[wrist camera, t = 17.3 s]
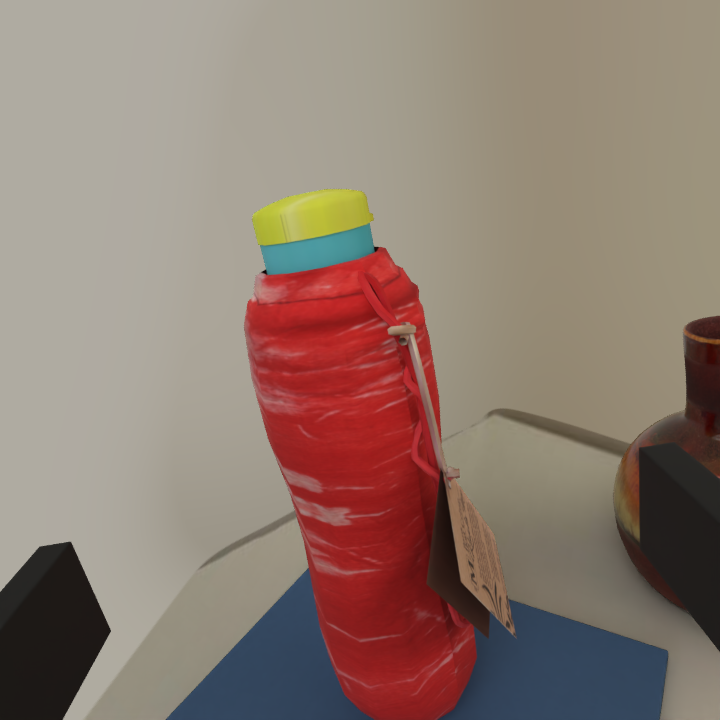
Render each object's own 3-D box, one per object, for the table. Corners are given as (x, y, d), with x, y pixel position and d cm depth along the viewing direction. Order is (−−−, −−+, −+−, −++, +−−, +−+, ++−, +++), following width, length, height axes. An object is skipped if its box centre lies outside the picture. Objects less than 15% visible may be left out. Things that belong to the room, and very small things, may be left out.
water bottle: (585, 720, 23) (547, 143, 15) (471, 873, 19) (336, 184, 11) (408, 589, 33) (327, 189, 25) (305, 672, 29) (168, 221, 21)
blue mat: (154, 740, 27) (151, 734, 27) (333, 547, 39) (332, 542, 39) (605, 1119, 14) (604, 1111, 14) (668, 657, 26) (668, 650, 26)
